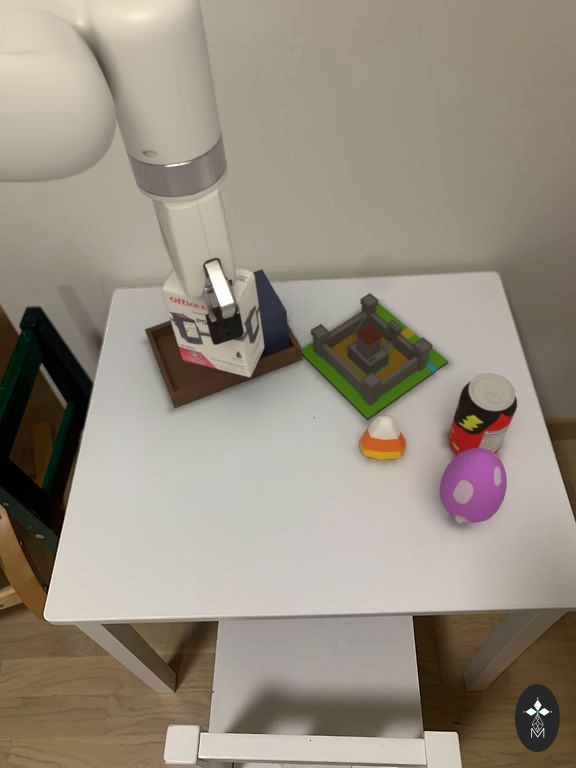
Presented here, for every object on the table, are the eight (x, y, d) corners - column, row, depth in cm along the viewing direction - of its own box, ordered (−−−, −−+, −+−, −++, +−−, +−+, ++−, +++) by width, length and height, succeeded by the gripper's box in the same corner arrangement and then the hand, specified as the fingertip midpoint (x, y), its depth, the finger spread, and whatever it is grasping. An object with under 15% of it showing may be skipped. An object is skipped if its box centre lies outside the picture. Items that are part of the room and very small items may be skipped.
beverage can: (487, 419, 79) (508, 364, 69) (505, 461, 75) (530, 409, 65) (441, 427, 78) (455, 373, 69) (456, 469, 75) (474, 419, 65)
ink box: (181, 361, 67) (156, 288, 58) (198, 329, 70) (178, 254, 60) (250, 379, 65) (237, 305, 56) (266, 345, 68) (256, 270, 58)
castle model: (299, 353, 87) (296, 319, 81) (376, 304, 92) (379, 268, 86) (367, 420, 80) (369, 389, 74) (447, 363, 84) (456, 329, 78)
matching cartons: (238, 367, 86) (229, 331, 79) (217, 324, 91) (208, 287, 84) (290, 347, 87) (286, 310, 80) (267, 306, 92) (262, 268, 85)
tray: (174, 408, 83) (170, 397, 81) (149, 341, 91) (144, 329, 88) (302, 359, 87) (301, 347, 84) (267, 298, 94) (266, 286, 92)
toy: (492, 546, 69) (525, 490, 57) (433, 545, 69) (454, 489, 57) (483, 493, 73) (513, 430, 60) (428, 492, 73) (446, 430, 61)
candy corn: (358, 459, 76) (359, 427, 70) (359, 439, 78) (361, 406, 72) (405, 463, 76) (411, 430, 69) (405, 442, 77) (411, 409, 71)
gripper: (109, 117, 51) (157, 264, 65) (160, 237, 42) (203, 379, 56) (192, 95, 53) (221, 244, 67) (259, 207, 43) (277, 353, 57)
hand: (213, 305), depth 61 cm, fingers closed on ink box, 9 cm apart
